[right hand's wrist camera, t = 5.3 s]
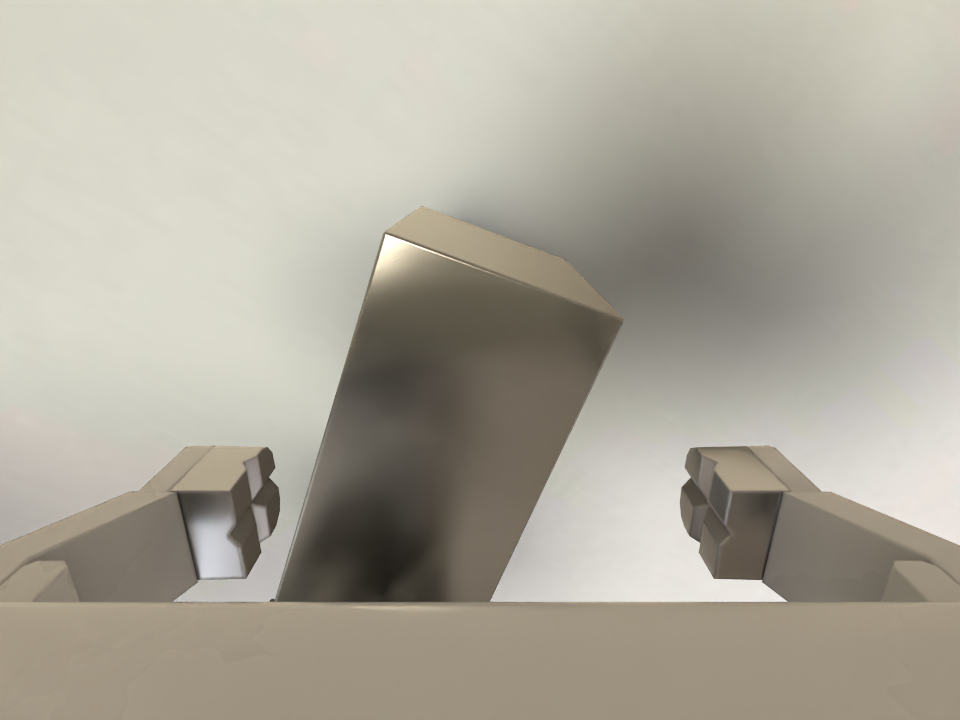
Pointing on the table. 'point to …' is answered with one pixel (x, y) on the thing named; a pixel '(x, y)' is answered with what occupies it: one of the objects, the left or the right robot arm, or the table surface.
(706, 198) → the table surface
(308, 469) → the table surface
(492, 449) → the box
